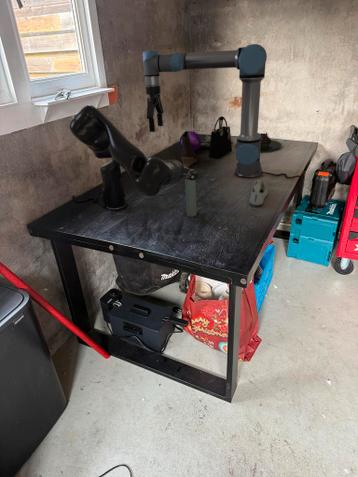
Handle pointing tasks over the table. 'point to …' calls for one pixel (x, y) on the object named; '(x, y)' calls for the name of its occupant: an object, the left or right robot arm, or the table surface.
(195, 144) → the decorative orb
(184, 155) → the boot
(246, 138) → the right robot arm
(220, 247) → the table surface
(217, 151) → the handbag
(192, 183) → the bottle
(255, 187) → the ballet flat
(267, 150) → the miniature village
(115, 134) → the left robot arm
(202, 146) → the pair of gloves
